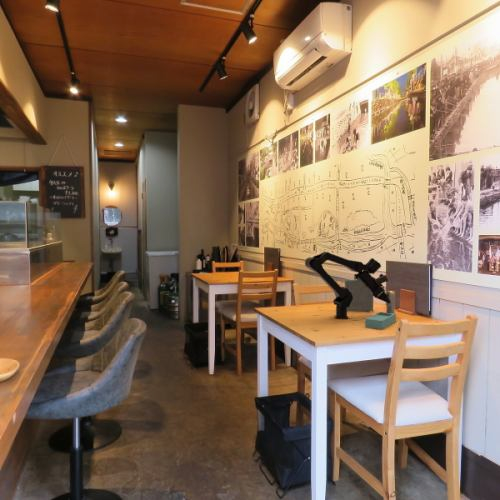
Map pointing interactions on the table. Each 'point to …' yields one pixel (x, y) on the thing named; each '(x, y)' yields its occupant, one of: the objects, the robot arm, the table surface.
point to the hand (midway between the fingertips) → (389, 301)
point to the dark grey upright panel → (359, 296)
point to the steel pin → (391, 305)
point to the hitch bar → (380, 320)
